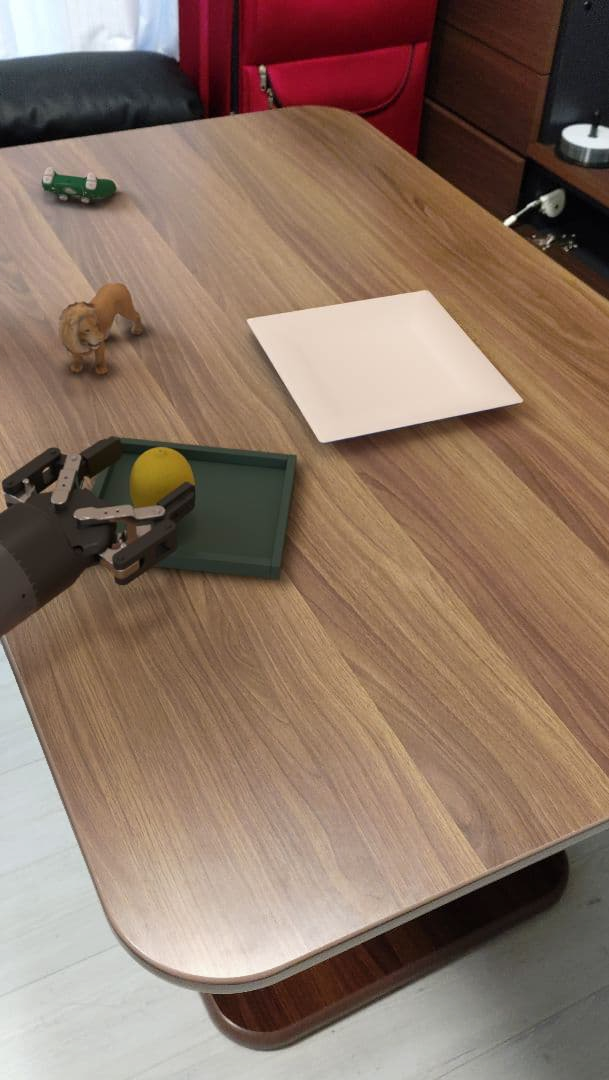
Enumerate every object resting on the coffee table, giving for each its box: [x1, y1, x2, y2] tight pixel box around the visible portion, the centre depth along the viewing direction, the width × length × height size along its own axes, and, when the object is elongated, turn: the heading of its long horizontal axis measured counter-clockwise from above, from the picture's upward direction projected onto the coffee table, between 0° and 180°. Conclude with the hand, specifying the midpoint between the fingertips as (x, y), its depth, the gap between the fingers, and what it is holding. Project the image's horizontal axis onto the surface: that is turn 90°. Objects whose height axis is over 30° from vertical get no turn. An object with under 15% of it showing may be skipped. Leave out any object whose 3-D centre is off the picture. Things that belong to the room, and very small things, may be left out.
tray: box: [91, 436, 298, 580], centre depth 87 cm, size 18×15×2 cm
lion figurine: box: [58, 282, 143, 375], centre depth 101 cm, size 15×5×9 cm, turn 169°
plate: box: [246, 289, 524, 445], centre depth 104 cm, size 22×22×2 cm
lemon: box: [130, 447, 195, 508], centre depth 83 cm, size 6×6×8 cm
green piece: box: [41, 166, 117, 204], centre depth 127 cm, size 9×4×6 cm
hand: (154, 467), depth 81 cm, fingers open, 8 cm apart
